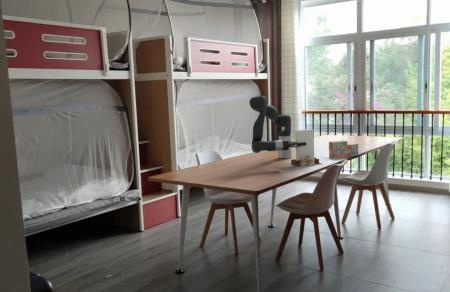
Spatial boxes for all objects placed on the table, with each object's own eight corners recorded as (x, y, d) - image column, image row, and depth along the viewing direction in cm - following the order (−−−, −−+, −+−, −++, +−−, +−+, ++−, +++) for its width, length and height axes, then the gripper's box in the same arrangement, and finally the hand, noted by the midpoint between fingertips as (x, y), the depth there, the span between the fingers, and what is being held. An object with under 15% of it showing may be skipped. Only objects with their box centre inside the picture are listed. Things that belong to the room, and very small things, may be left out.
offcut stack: (302, 166, 293) (301, 157, 292) (299, 164, 297) (299, 156, 297) (314, 165, 294) (314, 156, 293) (312, 163, 299) (312, 155, 298)
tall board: (297, 162, 299) (296, 130, 296) (296, 161, 302) (295, 130, 299) (314, 161, 301) (313, 129, 298) (312, 160, 304) (311, 128, 301)
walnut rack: (295, 168, 292) (294, 162, 291) (289, 166, 304) (289, 159, 303) (323, 166, 295) (323, 160, 294) (317, 163, 307) (317, 157, 306)
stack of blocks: (354, 154, 336) (354, 139, 334) (358, 156, 330) (358, 139, 328) (329, 157, 331) (328, 141, 330) (332, 158, 325) (332, 142, 324)
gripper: (283, 141, 290) (308, 139, 292) (277, 138, 304) (301, 137, 306) (284, 152, 291) (308, 150, 293) (278, 149, 305) (302, 147, 307)
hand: (305, 143), depth 300 cm, fingers closed on tall board, 3 cm apart
